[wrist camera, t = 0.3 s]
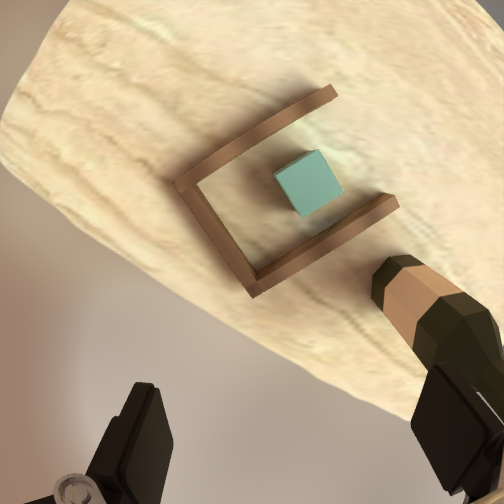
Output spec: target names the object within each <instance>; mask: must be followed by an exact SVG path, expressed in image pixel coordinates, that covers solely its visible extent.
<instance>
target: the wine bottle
mask: <svg viewBox="0 0 504 504" xmlns="http://www.w3.org/2000/svg"><path fill="white" fill-rule="evenodd" d="M371 298H372V299H373V301H374V302H375V303H376V304H377V306H378V307H379V308H380V309H381V311H382V312H383V313H384V314H385V316H386V317H387V318H388V319H389V321H390V322H391V323H392V324H393V326H394V327H395V328H396V330H397V331H398V332H399V333H400V335H401V336H402V337H403V339H404V340H405V341H406V343H407V344H408V345H409V346H410V348H411V349H412V350H413V352H414V353H415V354H416V356H417V357H418V358H419V360H420V361H421V362H422V364H423V365H424V366H425V368H426V369H427V370H428V371H429V369H431V368H432V366H433V365H434V364H437V363H441V362H445V361H448V362H449V363H451V365H452V366H453V367H454V368H455V369H456V370H457V371H458V372H459V373H460V374H461V376H462V377H463V378H464V379H465V380H466V381H467V382H468V384H469V385H470V386H471V387H472V388H473V389H474V390H475V392H480V394H481V395H482V396H483V397H484V398H485V400H486V401H487V402H488V403H489V405H490V406H491V407H492V409H493V410H494V411H495V412H496V413H497V415H498V416H499V418H500V419H501V420H502V421H503V423H504V355H503V348H502V342H501V337H500V331H499V327H498V325H497V323H496V322H495V320H494V318H493V316H492V315H491V313H490V311H489V310H488V309H487V308H486V307H484V306H483V305H482V304H480V303H479V302H478V301H476V300H475V299H473V298H472V297H471V296H469V295H468V294H467V293H465V292H464V291H462V290H461V289H460V288H458V287H457V286H455V285H454V284H453V283H451V282H450V281H448V280H447V279H446V278H444V277H443V276H441V275H440V274H438V273H437V272H435V271H434V270H432V269H431V268H429V267H428V266H427V265H425V264H424V263H422V262H421V261H419V260H418V259H416V258H415V257H413V256H411V255H404V256H394V257H389V258H388V259H387V260H386V261H385V262H384V263H383V265H382V266H381V267H380V268H379V269H378V270H377V271H376V272H375V273H374V275H373V280H372V297H371Z"/></svg>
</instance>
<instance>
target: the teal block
mask: <svg viewBox="0 0 504 504" xmlns="http://www.w3.org/2000/svg"><path fill="white" fill-rule="evenodd" d="M273 176H274V177H275V179H276V181H277V182H278V184H279V185H280V187H281V188H282V190H283V192H284V193H285V195H286V196H287V198H288V200H289V201H290V203H291V204H292V206H293V208H294V209H295V211H296V212H297V213H298V214H299V215H300V216H301V218H304V217H306V216H307V215H309V214H311V213H312V212H314V211H315V210H317V209H319V208H320V207H322V206H323V205H325V204H327V203H328V202H330V201H331V200H333V199H335V198H336V197H338V196H339V195H341V194H343V193H344V191H343V190H342V188H341V186H340V184H339V183H338V181H337V179H336V177H335V176H334V174H333V172H332V171H331V169H330V167H329V166H328V164H327V162H326V161H325V159H324V157H323V156H322V154H321V152H320V151H319V149H317V150H312V151H309V152H307V153H305V154H304V155H302V156H300V157H299V158H297V159H295V160H294V161H292V162H291V163H289V164H287V165H286V166H284V167H282V168H281V169H279V170H278V171H276V172H274V173H273Z"/></svg>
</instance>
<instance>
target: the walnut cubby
mask: <svg viewBox="0 0 504 504" xmlns="http://www.w3.org/2000/svg"><path fill="white" fill-rule="evenodd" d="M337 96H338V94H337V93H336V91H335V90H334V88H333V87H332V85H331V84H329V85H327V86H326V87H324V88H322V89H320V90H318V91H316V92H314V93H312V94H311V95H309V96H307V97H305V98H303V99H302V100H300V101H298V102H296V103H294V104H293V105H291V106H289V107H287V108H286V109H284V110H282V111H280V112H279V113H277V114H275V115H274V116H272V117H270V118H269V119H267V120H265V121H264V122H262V123H260V124H259V125H257V126H255V127H254V128H252V129H250V130H249V131H247V132H246V133H244V134H243V135H241V136H239V137H238V138H236V139H235V140H233V141H232V142H230V143H228V144H227V145H225V146H224V147H222V148H221V149H219V150H218V151H216V152H215V153H213V154H212V155H210V156H209V157H207V158H206V159H204V160H203V161H201V162H200V163H199V164H197V165H196V166H194V167H193V168H191V169H190V170H189V171H187V172H186V173H184V174H183V175H181V176H180V177H179V178H177V179H176V180H175V181H173V182H172V184H173V185H174V187H175V188H176V189H177V191H178V192H179V194H180V195H181V197H182V198H183V200H184V201H185V203H186V204H187V206H188V207H189V209H190V210H191V212H192V213H193V214H194V216H195V217H196V219H197V220H198V222H199V223H200V225H201V226H202V228H203V229H204V230H205V232H206V233H207V235H208V236H209V238H210V239H211V241H212V242H213V243H214V245H215V246H216V248H217V249H218V251H219V252H220V253H221V255H222V256H223V258H224V259H225V261H226V262H227V263H228V265H229V266H230V268H231V269H232V271H233V272H234V273H235V275H236V276H237V278H238V279H239V280H240V282H241V283H242V285H243V286H244V287H245V289H246V290H247V292H248V293H249V294H250V296H251V297H252V299H253V298H255V297H256V296H258V295H260V294H261V293H263V292H265V291H266V290H268V289H270V288H271V287H273V286H275V285H277V284H278V283H280V282H282V281H283V280H285V279H287V278H288V277H290V276H291V275H293V274H295V273H296V272H298V271H300V270H301V269H303V268H305V267H306V266H308V265H310V264H311V263H313V262H314V261H316V260H318V259H319V258H321V257H323V256H324V255H326V254H327V253H329V252H331V251H332V250H334V249H335V248H337V247H339V246H340V245H342V244H343V243H345V242H347V241H348V240H350V239H351V238H353V237H354V236H356V235H358V234H359V233H361V232H362V231H364V230H365V229H367V228H368V227H370V226H372V225H373V224H375V223H376V222H378V221H379V220H381V219H382V218H384V217H385V216H387V215H388V214H390V213H392V212H393V211H395V210H396V209H398V208H399V207H400V206H399V204H398V201H397V199H396V197H395V195H391V194H388V193H383V194H381V195H380V196H378V197H376V198H375V199H373V200H372V201H370V202H369V203H367V204H365V205H364V206H362V207H361V208H359V209H358V210H356V211H354V212H353V213H351V214H350V215H348V216H346V217H345V218H343V219H342V220H340V221H338V222H337V223H335V224H334V225H332V226H330V227H329V228H327V229H326V230H324V231H322V232H321V233H319V234H318V235H316V236H314V237H313V238H311V239H310V240H308V241H306V242H305V243H303V244H302V245H300V246H298V247H297V248H295V249H293V250H292V251H290V252H289V253H287V254H285V255H284V256H282V257H280V258H279V259H277V260H276V261H274V262H272V263H271V264H269V265H267V266H266V267H264V268H262V269H261V270H259V271H258V272H256V271H255V270H254V268H253V267H252V265H251V264H250V262H249V261H248V260H247V258H246V257H245V255H244V254H243V252H242V251H241V249H240V248H239V246H238V245H237V243H236V242H235V241H234V239H233V238H232V236H231V235H230V233H229V232H228V230H227V229H226V227H225V226H224V224H223V223H222V221H221V220H220V218H219V217H218V216H217V214H216V213H215V211H214V210H213V208H212V207H211V205H210V204H209V202H208V201H207V199H206V198H205V196H204V195H203V193H202V192H201V190H200V189H199V187H198V186H197V185H196V184H197V183H198V182H200V181H201V180H203V179H204V178H206V177H207V176H209V175H210V174H212V173H213V172H215V171H216V170H218V169H219V168H221V167H222V166H224V165H225V164H227V163H228V162H230V161H231V160H233V159H234V158H236V157H237V156H239V155H240V154H242V153H244V152H245V151H247V150H248V149H250V148H251V147H253V146H255V145H256V144H258V143H259V142H261V141H263V140H264V139H266V138H268V137H269V136H271V135H272V134H274V133H276V132H277V131H279V130H281V129H282V128H284V127H286V126H288V125H289V124H291V123H293V122H294V121H296V120H298V119H300V118H301V117H303V116H305V115H307V114H308V113H310V112H312V111H314V110H315V109H317V108H319V107H321V106H323V105H324V104H326V103H328V102H330V101H332V100H333V99H334V98H336V97H337Z"/></svg>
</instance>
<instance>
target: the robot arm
mask: <svg viewBox="0 0 504 504" xmlns="http://www.w3.org/2000/svg"><path fill="white" fill-rule="evenodd" d="M411 429H412V431H413V432H414V434H415V436H416V438H417V440H418V441H419V443H420V445H421V447H422V449H423V451H424V453H425V455H426V456H427V458H428V460H429V462H430V464H431V466H432V468H433V470H434V472H435V474H436V476H437V477H438V479H439V481H440V483H441V485H442V487H443V489H444V490H445V491H448V492H449V494H450V496H453V495H455V494H457V493H459V492H462V491H463V490H464V491H465V493H466V495H465V498H464V501H463V504H504V425H503V424H502V423H501V421H500V420H499V419H498V418H497V416H496V415H495V414H494V413H493V412H492V410H491V409H490V408H489V407H488V406H487V404H486V403H485V402H484V401H483V400H482V399H481V397H480V396H479V395H478V394H477V393H476V392H475V390H474V389H473V388H472V387H471V386H470V385H469V384H468V382H467V381H466V380H465V379H464V378H463V377H462V376H461V374H460V373H459V372H458V371H457V370H456V369H455V368H454V367H453V366H452V365H451V363H449V362H448V361H445V362H441V363H437V364H434V365H433V366H432V368H431V369H429V371H428V373H427V376H426V380H425V383H424V386H423V389H422V392H421V395H420V397H419V400H418V403H417V406H416V409H415V411H414V414H413V416H412V419H411ZM172 450H173V437H172V434H171V431H170V428H169V424H168V420H167V417H166V413H165V409H164V406H163V402H162V398H161V394H160V390H159V388H155V387H154V385H153V384H152V383H143V382H136V383H135V384H134V386H133V388H132V390H131V392H130V394H129V396H128V398H127V401H126V402H125V404H124V406H123V409H122V411H121V413H120V415H119V416H114V417H113V418H112V419H111V421H110V423H109V425H108V427H107V429H106V431H105V433H104V436H103V437H102V440H101V442H100V444H99V446H98V448H97V450H96V452H95V454H94V457H93V459H92V461H91V463H90V465H89V467H88V469H87V472H86V474H85V475H83V474H77V473H74V474H68V475H66V476H63V477H62V478H60V479H59V480H58V481H57V482H56V484H55V486H54V490H53V495H51V496H47V497H45V498H41V499H38V500H35V501H31V502H28V503H25V504H160V502H161V497H162V493H163V488H164V484H165V480H166V476H167V471H168V467H169V463H170V459H171V455H172Z"/></svg>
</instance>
